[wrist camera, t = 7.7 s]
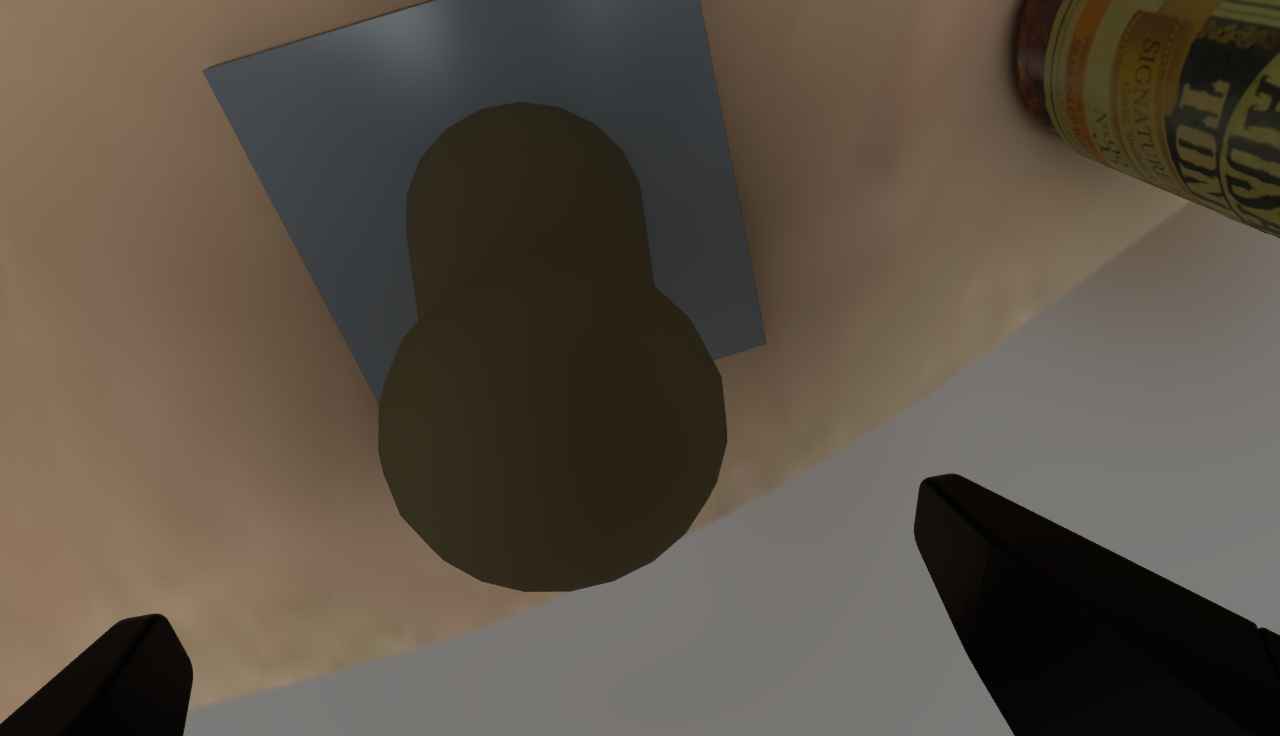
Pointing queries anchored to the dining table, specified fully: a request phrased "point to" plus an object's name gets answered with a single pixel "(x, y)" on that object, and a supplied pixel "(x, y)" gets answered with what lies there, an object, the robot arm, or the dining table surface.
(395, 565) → the dining table surface
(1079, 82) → the sauce bottle
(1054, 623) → the robot arm
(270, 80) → the slate coaster
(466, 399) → the dark olive bulbous piece
